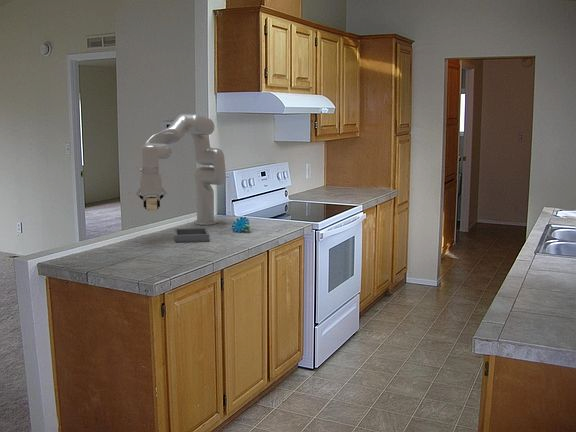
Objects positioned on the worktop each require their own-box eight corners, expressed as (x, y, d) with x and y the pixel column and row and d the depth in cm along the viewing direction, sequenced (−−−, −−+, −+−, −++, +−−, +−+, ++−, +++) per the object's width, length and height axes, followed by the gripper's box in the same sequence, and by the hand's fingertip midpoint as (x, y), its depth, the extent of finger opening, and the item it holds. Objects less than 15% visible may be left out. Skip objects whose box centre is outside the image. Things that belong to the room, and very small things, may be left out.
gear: (227, 228, 326) (238, 213, 330) (232, 234, 331) (242, 220, 334) (242, 234, 320) (253, 219, 323) (247, 240, 324) (257, 225, 327)
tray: (174, 235, 314) (174, 229, 313) (206, 234, 317) (206, 228, 316) (175, 242, 298) (175, 235, 298) (209, 241, 302) (209, 234, 301)
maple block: (146, 209, 300) (146, 196, 299) (157, 208, 301) (156, 196, 300) (146, 210, 295) (146, 198, 294) (157, 210, 296) (156, 197, 295)
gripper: (131, 172, 289) (133, 210, 293) (169, 171, 293) (170, 209, 296) (132, 170, 297) (133, 207, 300) (168, 169, 300) (169, 206, 304)
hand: (151, 208), depth 298 cm, fingers closed on maple block, 5 cm apart
